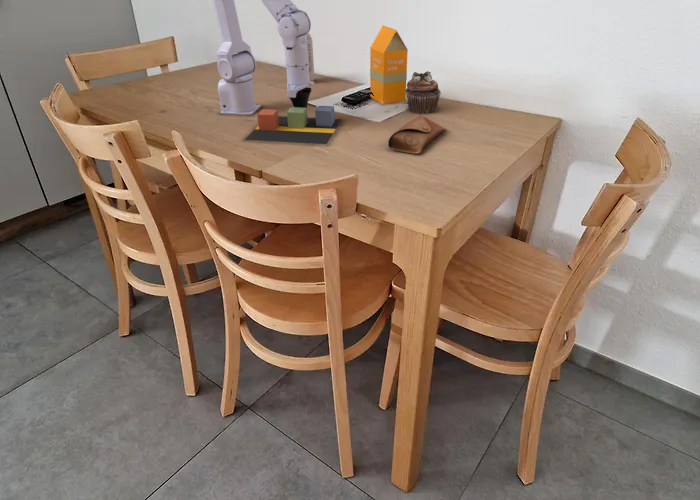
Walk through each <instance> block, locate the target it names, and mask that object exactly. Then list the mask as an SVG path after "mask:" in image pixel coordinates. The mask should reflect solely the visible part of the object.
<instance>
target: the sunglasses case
mask: <svg viewBox="0 0 700 500" xmlns="http://www.w3.org/2000/svg"><path fill="white" fill-rule="evenodd" d="M446 131H447V129H446V128H445V127H443V126H441V125H440V124H438V123H436V122H434V121H432V120H431V119H429V118H428V117H426V116H424V115H423V113H419V115H417V116H416V117H415V118H413V119H412V120H410V121H409V122H407V123H406V124H405V125H403V126H402V127H400V128H399V129H398V130H397V131H395V132H394V133H393V134H391V136H390V137H389V139H388V143H387V145H388V147H389V148H390V150H393V151H395V152H399V153H404V154H413V155H419V154H421V153H422V152H423V151H424V149H425V148H426V147H428V146H429V145H430V144H431V143H432V142H433V141H434V140H436V139H437V138H438V137H440V136H441V135H442V134H443V133H445V132H446Z"/></svg>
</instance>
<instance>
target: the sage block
mask: <svg viewBox="0 0 700 500" xmlns="http://www.w3.org/2000/svg"><path fill="white" fill-rule="evenodd" d="M286 117H287V119H288V128H304V127H305V126H306V125H307V123H308V119H307V118H308V107H307V108H301V107H294V106H291V107H290V108H289V109H288V110H287V111H286Z"/></svg>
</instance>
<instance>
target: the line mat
mask: <svg viewBox="0 0 700 500" xmlns="http://www.w3.org/2000/svg"><path fill="white" fill-rule="evenodd" d="M307 119H308V123H307V125H306V126H305V127H304V128H288V119H287V116H279V126H278V128H277V129H276V130H275V131H267V130H259V125H257V126H256V127H255V128H254V130H252V131H251V133H249V135H247V137H246V138H245V139H244V141H258V142H259V141H260V142H277V143H296V144H311V145H313V144H314V145H327V144H328V142H329V141H330V139H331V138H332V136H333V134H334V133H335V131H336V129H337V128H338V126H339V124H340V123H341V121H342V119H341V118H335V122H334V124H333V125H332V127H325V126H316V117H307Z"/></svg>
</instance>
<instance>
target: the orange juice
mask: <svg viewBox="0 0 700 500" xmlns="http://www.w3.org/2000/svg"><path fill="white" fill-rule="evenodd" d="M369 48H370V49H369V50H370V53H369V54H370V55H369V56H370V57H369V58H370V59H369V61H370V63H369V64H370V66H369V77H370V78H369V79H370V80H369V83H370V85H369V86H370V87H369V90H370V91H371V92H372V93H373V95H374V96H373V95H372V94H370V93H369V96H370V98H371V99H372V100H374V101H376V102H378V103H381V104H382V105H386V104H397V103H404V102H406V101H407V95H406V89H407V80H408V78H407V77H408V51H409V49H408V48H407V46H406V44H405V43H404V41H403V39H402V38H401V36H400V34H399V32H398V30H397V29H395V28H392V27H389V26H386V25H382V26H381V28H380V29H379V31H378V33H377V34H376V37H375V39H374V40H373V42H372V44H371V45H370V46H369ZM370 91H369V92H370Z"/></svg>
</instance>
